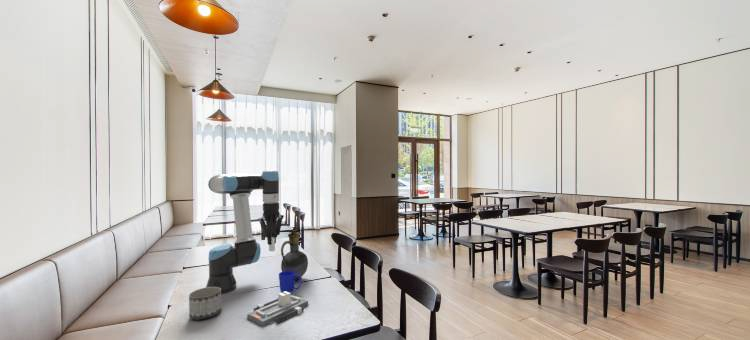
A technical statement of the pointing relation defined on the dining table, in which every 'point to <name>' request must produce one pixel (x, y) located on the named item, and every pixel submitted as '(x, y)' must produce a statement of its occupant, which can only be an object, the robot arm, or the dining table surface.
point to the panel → (275, 311)
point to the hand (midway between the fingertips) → (271, 250)
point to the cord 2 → (290, 314)
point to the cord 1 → (264, 304)
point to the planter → (205, 303)
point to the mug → (288, 281)
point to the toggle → (284, 298)
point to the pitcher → (294, 256)
